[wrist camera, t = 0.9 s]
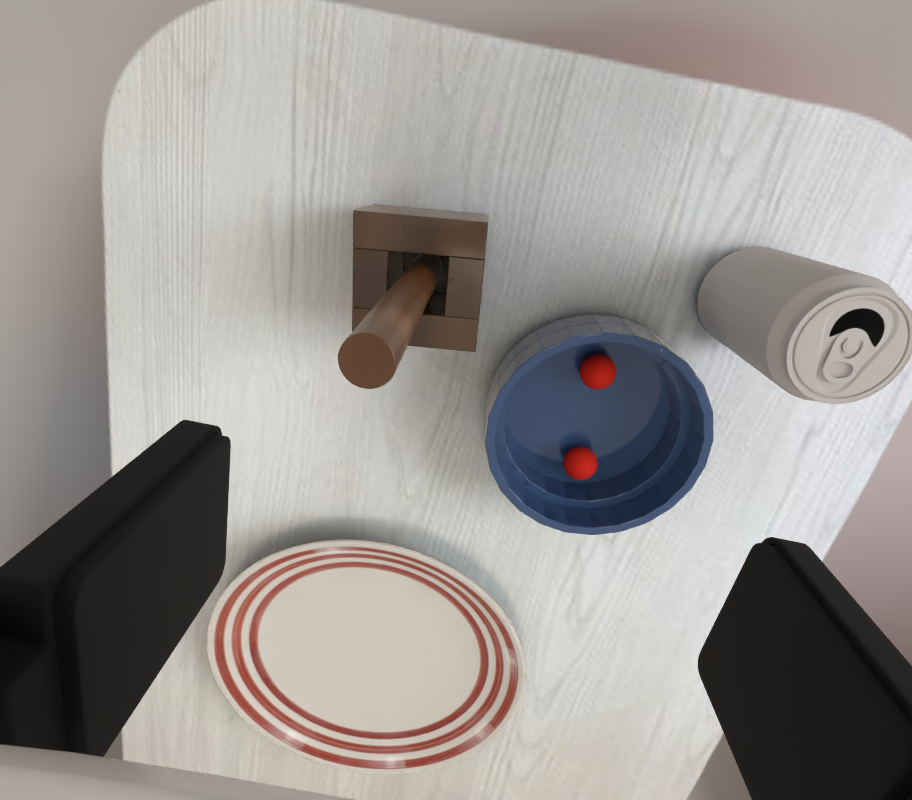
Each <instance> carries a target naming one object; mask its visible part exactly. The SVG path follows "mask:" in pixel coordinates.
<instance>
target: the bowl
mask: <svg viewBox="0 0 912 800" xmlns="http://www.w3.org/2000/svg"><path fill="white" fill-rule="evenodd" d="M593 354H604V355H606V356H608V357H609V358H611V359H612V361H613V362H614V364H615V366H616V377H615V379H614V381H613V382H612V384H611V385H609V386H608V387H606V388H604V389H599V390H597V389H591V388H589V387H587V386H586V385H585V384H584V383H583V382H582V380H581V378H580V374H579V370H580V366H581V364H582V362H583V361H584V359H585V358H587V357H588V356H590V355H593ZM712 442H713V410H712V407H711V404H710V401H709V398H708V395H707V392H706V389H705V387H704V385H703V383H702V382H701V381H700V379H699V378H698V376H697V375H696V374H695V372H694V371H693V370H692V368H691V367H690V366H689V364H688V363H687V362H686V361H685V360H684V359H683V358H682V357H681V356H680V355H679V354H677V353H676V352H675V351H674V350H673V349H672V348H671V347H670V346H669V345H668V344H667V343H666V342H665V341H664V340H662V339H661V338H660V337H658V336H657V335H656V334H654V333H653V332H652V331H650V330H649V329H648V328H646V327H645V326H643V325H640V324H638V323H635V322H632V321H630V320H627V319H624V318H621V317H618V316H609V315H598V314H586V315H580V316H574V317H567V318H563V319H559V320H557V321H555V322H552V323H550V324H548V325H545V326H543V327H541V328H538V329H536V330H535V331H533V332H532V333H531V334H530V335H528V336H527V337H526V338H524V339H523V340H522V341H520V342H519V343H518V344H517V345H515V346H514V347H513V348H512V350H511V351H510V352H509V354H508V355H507V356H506V358H505V359H504V360H503V361H502V363H501V364H500V365H499V367H498V368H497V371H496V373H495V375H494V378H493V380H492V383H491V385H490V388H489V390H488V397H487V406H486V424H485V446H486V451H487V457H488V462H489V468H490V470H491V472H492V474H493V476H494V478H495V480H496V482H497V484H498V486H499V488H500V490H501V491H502V493H503V494H504V495H505V496H506V497H507V498H508V499H509V500H510V501H511V502H512V503H513V504H514V506H515V507H516V508H517V509H519V511H521V512H523V513H524V514H526V515H527V516H529V517H531V518H532V519H534V520H535V521H537V522H538V523H541V524H542V525H545V526H548V527H551V528H554V529H557V530H560V531H563V532H568V533H578V534H588V535H597V534H606V533H615V532H620V531H621V532H622V531H625V530H628V529H630V528H633V527H636V526H639V525H642V524H645V523H647V522H649V521H651V520H653V519H654V518H656V517H658V516H659V515H661V514H663V513H664V512H666V511H668V510H669V509H671V508H672V507H673V506H674V505H675V504H676V503H677V502H678V501H679V500H680V499H681V498H683V497H684V496H685V495H686V494H687V493H688V492H689V491H690V490H691V488H692V487H693V486H694V484H695V482H696V481H697V479H698V477H699V476H700V474H701V473H702V471H703V469H704V468H705V466H706V463H707V460H708V456H709V453H710V449H711V446H712ZM579 446H580V447H586V448H588V449H590V450H591V451H592V452H593V453H594V454H595V456H596V458H597V463H598V464H597V469H596V472H595V473H594V474H593V475H592V476H591V477H590V478H588V479H585V480H576V479H574V478H572V477H570V476H569V475H568V474H567V473H566V471H565V469H564V465H563V460H564V457H565V455H566V453H567V452H568V451H569V450H570V449H572V448H574V447H579Z"/></svg>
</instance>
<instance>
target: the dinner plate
mask: <svg viewBox="0 0 912 800" xmlns="http://www.w3.org/2000/svg"><path fill="white" fill-rule="evenodd" d="M207 651H208V657H209V662H210V666H211V669H212V672H213V675H214V677H215V680H216V682H217V684H218V686H219V687H220V689H221V691H222V693H223V694H224V696H225V697H226V699H227V700H228V702H229V703H230V704H231V705H232V707H233V708H234V709H235V710H236V711H237V712H238V714H239V715H240V716H241V717H242V718H243V719H244V720H245V721H246V722H247V723H248V724H249V725H251V726H252V727H253V728H254V729H255V730H257V731H258V732H259V733H260V734H262V735H263V736H265V737H266V738H267V739H269V740H270V741H272V742H274V743H275V744H277V745H279V746H280V747H282V748H284V749H286V750H288V751H290V752H292V753H294V754H296V755H298V756H301V757H303V758H305V759H308V760H311V761H314V762H316V763H320V764H323V765H326V766H330V767H334V768H338V769H342V770H348V771H353V772H360V773H370V774H406V773H415V772H422V771H428V770H432V769H436V768H440V767H444V766H447V765H450V764H453V763H455V762H458V761H460V760H463V759H465V758H467V757H469V756H471V755H473V754H475V753H476V752H478V751H480V750H481V749H483V748H484V747H485V746H487V745H488V744H489V743H491V742H492V741H493V740H494V739H495V738H497V737H498V735H499V734H500V733H501V732H502V731H503V730H504V729H505V728H506V726H507V725H508V724H509V723H510V721H511V720H512V718H513V717H514V715H515V713H516V711H517V709H518V707H519V705H520V703H521V700H522V697H523V693H524V688H525V681H526V666H525V657H524V652H523V649H522V646H521V643H520V640H519V637H518V635H517V633H516V631H515V628H514V627H513V625H512V623H511V621H510V620H509V618H508V617H507V615H506V614H505V613H504V611H503V610H502V609H501V608H500V606H499V605H498V604H497V603H496V602H495V601H494V600H493V598H492V597H490V596H489V595H488V594H487V593H486V592H485V591H484V590H483V589H482V588H481V587H479V586H478V585H477V584H476V583H475V582H473V581H472V580H471V579H469V578H468V577H466V576H465V575H463V574H462V573H460V572H459V571H457V570H456V569H454V568H452V567H450V566H448V565H446V564H444V563H443V562H441V561H439V560H437V559H434V558H432V557H430V556H427V555H425V554H423V553H420V552H417V551H414V550H411V549H407V548H404V547H400V546H396V545H392V544H387V543H382V542H376V541H367V540H351V539H343V540H324V541H317V542H310V543H306V544H301V545H297V546H294V547H290V548H287V549H284V550H281V551H279V552H276V553H274V554H271V555H269V556H267V557H265V558H263V559H261V560H260V561H258V562H256V563H255V564H253V565H252V566H250V567H249V568H247V569H246V570H245V571H243V572H242V573H241V574H240V575H239V576H237V577H236V578H235V579H234V580H233V581H232V583H231V584H230V585H229V586H228V587H227V588H226V589H225V591H224V592H223V593H222V595H221V597H220V598H219V600H218V602H217V603H216V605H215V607H214V610H213V612H212V615H211V618H210V622H209V626H208V634H207Z"/></svg>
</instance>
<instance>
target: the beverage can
mask: <svg viewBox="0 0 912 800" xmlns="http://www.w3.org/2000/svg"><path fill="white" fill-rule="evenodd" d="M697 308H698V314H699V318H700V320H701V323H702V324H703V326H704V327H705V329H706V330H707V331H708V332H709V333H710V334H711V335H712V336H713V337H715V338H716V339H717V340H718V341H720V342H721V343H722V344H724V345H725V346H726V347H728V348H729V349H730V350H732V351H733V352H734V353H736V354H737V355H738V356H740V357H741V358H742V359H744V360H745V361H746V362H748V363H749V364H750V365H752V366H753V367H754V368H756V369H757V370H758V371H760V372H761V373H762V374H764V375H765V376H766V377H768V378H769V379H770V380H772V381H773V382H774V383H776V384H777V385H778V386H780V387H781V388H782V389H784V390H785V391H786V392H788V393H790V394H792V395H794V396H796V397H799V398H802V399H805V400H812V401H819V402H823V403H830V404H843V403H849V402H854V401H857V400H861V399H863V398H866V397H868V396H870V395H872V394H874V393H876V392H878V391H879V390H881V389H882V388H884V387H885V386H887V385H888V384H889V383H890V382H891V381H893V380H894V379H895V378H896V377H897V376H898V374H899V373H900V372H901V371H902V369H903V368H904V367H905V365H906V364H907V362H908V360H909V359H910V356H911V354H912V311H911V309H910V308H909V307H908V306H907V304H906V303H905V302H904V301H903V300H902V299H901V298H900V297H899V296H898V295H897V294H896V293H895V291H894V290H893V289H892V288H891V287H890V286H889V285H887V284H886V283H884V282H883V281H881V280H879V279H877V278H874V277H871V276H868V275H864V274H861V273H857V272H854V271H850V270H847V269H843V268H839V267H836V266H832V265H829V264H825V263H822V262H818V261H815V260H811V259H808V258H804V257H801V256H797V255H794V254H790V253H787V252H783V251H779V250H776V249H772V248H768V247H748V248H743V249H740V250H737V251H735V252H733V253H731V254H729V255H727V256H725V257H724V258H723V259H721V260H720V261H719V262H717V263H716V264H715V265H714V266H713V267H712V268H711V270H710V271H709V272H708V274H707V275H706V277H705V278H704V280H703V282H702V284H701V287H700V290H699V294H698V300H697Z"/></svg>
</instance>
